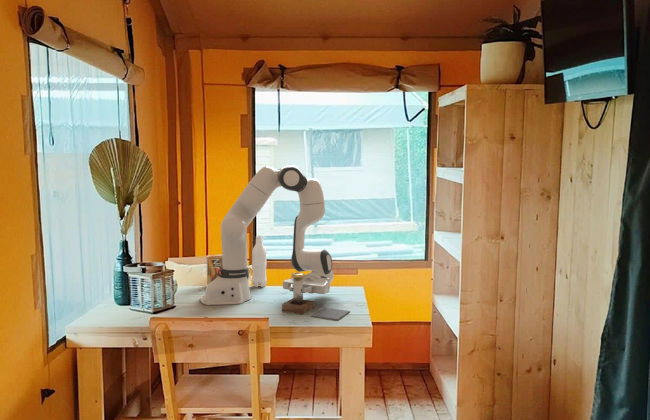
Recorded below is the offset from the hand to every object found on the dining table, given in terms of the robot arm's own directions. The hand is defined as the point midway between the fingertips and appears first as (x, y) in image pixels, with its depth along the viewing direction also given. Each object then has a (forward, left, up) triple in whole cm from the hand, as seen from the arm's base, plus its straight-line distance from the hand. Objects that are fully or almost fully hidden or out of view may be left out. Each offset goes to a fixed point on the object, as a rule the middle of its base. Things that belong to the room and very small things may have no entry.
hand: (297, 290), depth 218 cm
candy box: (-26, +51, -9) cm, 58 cm away
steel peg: (+1, +1, -9) cm, 9 cm away
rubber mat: (+11, -10, -9) cm, 17 cm away
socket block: (+1, +1, -9) cm, 9 cm away
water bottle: (-6, +44, -9) cm, 45 cm away
